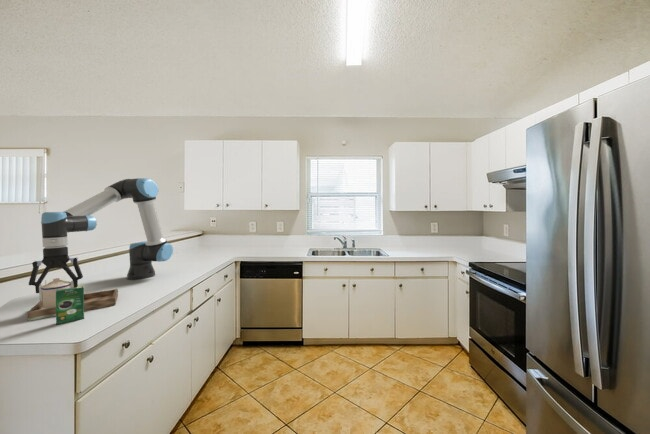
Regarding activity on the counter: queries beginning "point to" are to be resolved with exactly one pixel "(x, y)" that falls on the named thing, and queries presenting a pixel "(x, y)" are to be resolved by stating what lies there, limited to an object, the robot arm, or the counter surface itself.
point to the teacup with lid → (53, 291)
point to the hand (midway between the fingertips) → (57, 297)
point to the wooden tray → (90, 302)
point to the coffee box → (69, 304)
